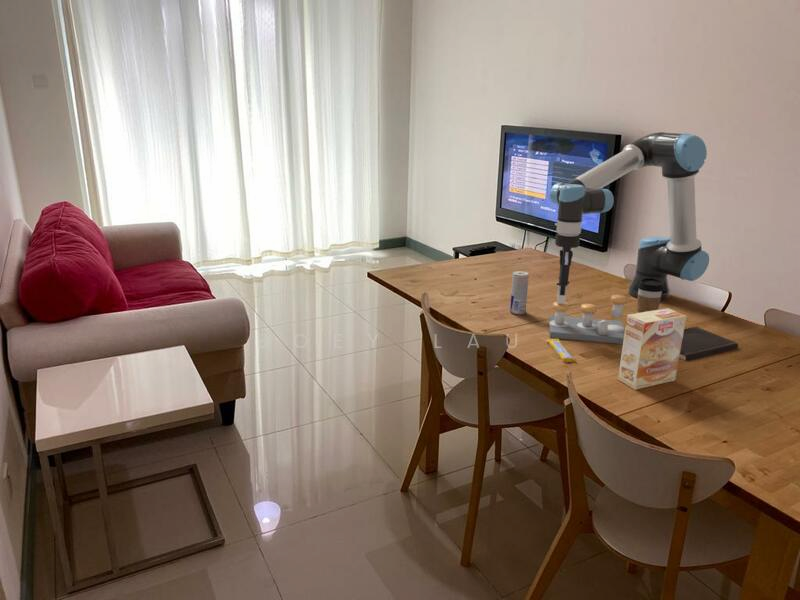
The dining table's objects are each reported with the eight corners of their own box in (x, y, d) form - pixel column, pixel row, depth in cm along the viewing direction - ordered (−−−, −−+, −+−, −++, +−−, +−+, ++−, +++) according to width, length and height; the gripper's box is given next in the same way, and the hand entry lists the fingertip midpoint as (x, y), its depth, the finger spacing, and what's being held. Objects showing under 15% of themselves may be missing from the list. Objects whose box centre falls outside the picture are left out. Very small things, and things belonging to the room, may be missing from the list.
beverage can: (528, 312, 223) (532, 272, 218) (520, 316, 219) (523, 275, 214) (515, 308, 227) (518, 269, 222) (507, 312, 223) (509, 272, 218)
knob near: (623, 314, 204) (626, 295, 201) (625, 319, 199) (628, 300, 197) (608, 313, 205) (610, 294, 202) (609, 318, 200) (612, 298, 198)
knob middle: (594, 322, 207) (596, 304, 204) (595, 328, 202) (597, 309, 200) (578, 321, 208) (580, 303, 205) (579, 326, 203) (581, 308, 201)
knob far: (566, 320, 208) (568, 302, 206) (567, 325, 204) (569, 307, 202) (551, 319, 209) (553, 301, 207) (551, 324, 205) (553, 305, 203)
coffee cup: (658, 319, 217) (665, 279, 212) (657, 327, 210) (664, 285, 205) (633, 316, 221) (639, 276, 216) (631, 323, 213) (637, 282, 208)
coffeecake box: (635, 390, 165) (645, 322, 159) (616, 379, 172) (625, 313, 165) (676, 381, 171) (688, 315, 165) (657, 370, 177) (667, 307, 171)
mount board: (621, 326, 211) (622, 320, 210) (627, 344, 196) (628, 337, 195) (548, 320, 215) (549, 314, 215) (549, 337, 201) (549, 331, 200)
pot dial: (600, 331, 200) (600, 318, 199) (609, 333, 198) (609, 320, 197) (595, 334, 198) (596, 321, 197) (604, 336, 196) (604, 322, 195)
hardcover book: (644, 343, 198) (645, 337, 197) (694, 332, 207) (696, 326, 207) (685, 362, 184) (686, 355, 184) (737, 350, 194) (738, 343, 193)
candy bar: (577, 364, 182) (577, 358, 181) (563, 364, 181) (564, 359, 181) (558, 342, 198) (559, 337, 197) (545, 342, 197) (546, 337, 197)
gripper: (555, 228, 204) (549, 296, 211) (556, 237, 191) (549, 308, 199) (579, 230, 202) (571, 298, 210) (581, 238, 190) (573, 310, 198)
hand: (561, 303), depth 204 cm, fingers closed
